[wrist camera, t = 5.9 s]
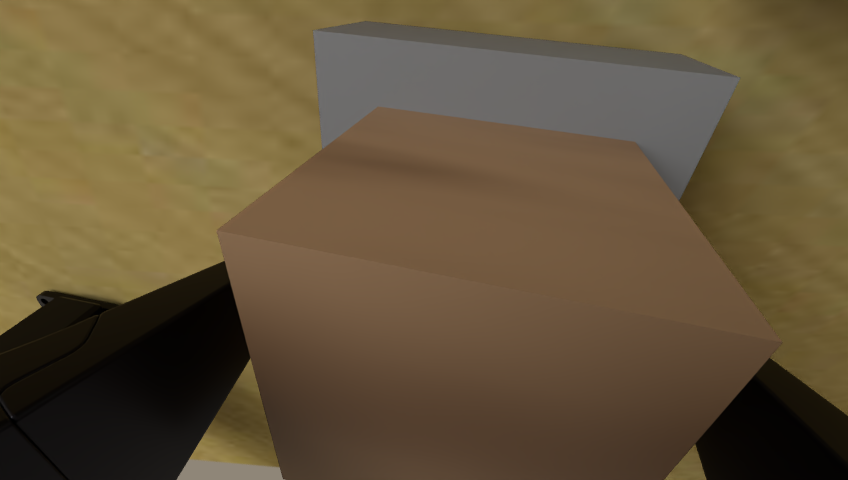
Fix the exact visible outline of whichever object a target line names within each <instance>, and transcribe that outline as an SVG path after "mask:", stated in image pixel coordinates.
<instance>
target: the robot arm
mask: <svg viewBox="0 0 848 480" xmlns="http://www.w3.org/2000/svg"><path fill="white" fill-rule="evenodd" d="M36 298H37V300H38V302H39V303H40V305H41V306H42V307H41V308H40V309H38V310H37V311H35V312H34V313H32V314H31V315H30V316H28V317H27V318H25V319H24V320H22V321H21V322H19V323H18V324H16V325H15V326H14V327H12V328H11V329H9V330H8V331H6V332H5V333H3V334H2V335H0V480H177V478H178V476H179V474H180V473H181V471H182V470H183V468H184V466H185V465H186V463H187V462H188V460H189V458H190V457H191V455H192V453H193V452H194V450H195V448H196V447H197V445H198V443H199V442H200V440H201V439H202V437H203V435H204V434H205V432H206V430H207V429H208V427H209V425H210V424H211V422H212V421H213V419H214V417H215V416H216V414H217V412H218V411H219V409H220V407H221V406H222V404H223V402H224V401H225V399H226V398H227V396H228V394H229V393H230V391H231V389H232V388H233V386H234V384H235V383H236V381H237V379H238V378H239V376H240V375H241V373H242V371H243V370H244V368H245V366H246V365H247V363H248V361H249V360H250V354H249V350H248V346H247V343H246V339H245V335H244V331H243V328H242V324H241V320H240V316H239V313H238V309H237V305H236V301H235V298H234V294H233V290H232V287H231V283H230V279H229V275H228V272H227V268H226V264H225V261H223V262H221V263H218V264H216V265H214V266H211V267H209V268H207V269H204V270H202V271H200V272H197V273H195V274H192V275H190V276H188V277H185V278H183V279H181V280H178V281H176V282H174V283H171V284H169V285H167V286H164V287H162V288H159V289H157V290H155V291H152V292H150V293H148V294H145V295H143V296H141V297H138V298H136V299H134V300H131V301H129V302H126V303H124V304H122V305H116V304H111V303H106V302H101V301H96V300H91V299H86V298H81V297H76V296H71V295H66V294H61V293H56V292H51V291H44V292H42V293H41V294H39V295H38V296H37V297H36ZM695 444H696V447H697V451H698V454H699V457H700V460H701V463H702V467H703V470H704V473H705V476H706V479H707V480H848V416H847V415H846V414H845V413H843V412H842V411H841V410H839V409H838V408H837V407H835V406H834V405H833V404H831V403H830V402H829V401H827V400H826V399H824V398H823V397H822V396H820V395H819V394H818V393H816V392H815V391H814V390H812V389H811V388H810V387H808V386H807V385H806V384H804V383H803V382H802V381H800V380H799V379H797V378H796V377H795V376H793V375H792V374H791V373H789V372H788V371H787V370H785V369H784V368H783V367H781V366H780V365H779V364H777V363H776V362H775V361H773V360H772V359H770V358H769V359H768V360H767V361H766V362H765V363H764V365H763V366H762V367H761V368H760V369H759V370H758V372H757V373H756V374H755V375H754V376H753V377H752V378H751V380H750V381H749V382H748V383H747V384H746V385H745V387H744V388H743V389H742V390H741V391H740V392H739V393H738V395H737V396H736V397H735V398H734V399H733V400H732V402H731V403H730V404H729V405H728V406H727V407H726V408H725V410H724V411H723V412H722V413H721V414H720V415H719V417H718V418H717V419H716V420H715V421H714V422H713V423H712V425H711V426H710V427H709V428H708V429H707V430H706V432H705V433H704V434H703V435H702V436H701V437H700V439H699V440H698V441H697V442H696V443H695Z"/></svg>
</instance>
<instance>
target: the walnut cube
mask: <svg viewBox="0 0 848 480" xmlns="http://www.w3.org/2000/svg"><path fill="white" fill-rule="evenodd" d="M217 234H218V238H219V242H220V245H221V249H222V253H223V257H224V260H225V264H226V268H227V272H228V275H229V279H230V283H231V287H232V290H233V294H234V298H235V301H236V305H237V309H238V313H239V316H240V320H241V324H242V328H243V331H244V335H245V339H246V343H247V346H248V350H249V354H250V358H251V361H252V365H253V369H254V372H255V376H256V380H257V384H258V387H259V391H260V395H261V399H262V402H263V406H264V410H265V414H266V417H267V421H268V425H269V429H270V432H271V436H272V440H273V443H274V447H275V451H276V455H277V458H278V462H279V466H280V470H281V473H282V477H283V479H285V480H664V479H665V478H666V477H667V475H668V474H669V473H670V472H671V471H672V470H673V469H674V467H675V466H676V465H677V464H678V463H679V462H680V460H681V459H682V458H683V457H684V456H685V455H686V454H687V452H688V451H689V450H690V449H691V448H692V447H693V445H694V444H695V443H696V442H697V441H698V440H699V439H700V437H701V436H702V435H703V434H704V433H705V432H706V430H707V429H708V428H709V427H710V426H711V425H712V423H713V422H714V421H715V420H716V419H717V418H718V417H719V415H720V414H721V413H722V412H723V411H724V410H725V408H726V407H727V406H728V405H729V404H730V403H731V402H732V400H733V399H734V398H735V397H736V396H737V395H738V393H739V392H740V391H741V390H742V389H743V388H744V387H745V385H746V384H747V383H748V382H749V381H750V380H751V378H752V377H753V376H754V375H755V374H756V373H757V372H758V370H759V369H760V368H761V367H762V366H763V365H764V363H765V362H766V361H767V360H768V359H769V358H770V357H771V355H772V354H773V353H774V352H775V351H776V350H777V348H778V347H779V346H780V345H781V344H782V343H783V342H782V341H781V340H780V338H779V337H778V335H777V334H776V333H775V331H774V330H773V329H772V327H771V326H770V325H769V323H768V322H767V320H766V319H765V318H764V316H763V315H762V314H761V312H760V311H759V310H758V308H757V307H756V306H755V304H754V303H753V301H752V300H751V299H750V297H749V296H748V295H747V293H746V292H745V291H744V289H743V288H742V286H741V285H740V284H739V282H738V281H737V280H736V278H735V277H734V276H733V274H732V273H731V272H730V270H729V269H728V267H727V266H726V265H725V263H724V262H723V261H722V259H721V258H720V257H719V255H718V254H717V252H716V251H715V250H714V248H713V247H712V246H711V244H710V243H709V242H708V240H707V239H706V238H705V236H704V235H703V233H702V232H701V231H700V229H699V228H698V227H697V225H696V224H695V223H694V221H693V220H692V218H691V217H690V216H689V214H688V213H687V212H686V210H685V209H684V208H683V206H682V205H681V204H680V202H679V201H678V199H677V198H676V197H675V195H674V194H673V193H672V191H671V190H670V189H669V187H668V186H667V184H666V183H665V182H664V180H663V179H662V178H661V176H660V175H659V174H658V172H657V171H656V170H655V168H654V167H653V165H652V164H651V163H650V161H649V160H648V159H647V157H646V156H645V155H644V153H643V152H642V150H641V149H640V148H639V146H638V145H637V144H636V142H633V141H626V140H619V139H611V138H604V137H597V136H590V135H582V134H575V133H568V132H560V131H553V130H546V129H539V128H531V127H524V126H517V125H510V124H502V123H495V122H488V121H480V120H473V119H466V118H459V117H451V116H444V115H437V114H430V113H422V112H415V111H408V110H400V109H393V108H386V107H379V106H378V107H377V108H376V109H374V110H373V111H372V112H370V113H369V114H368V115H366V116H365V117H364V118H362V119H361V120H360V121H359V122H357V123H356V124H355V125H353V126H352V127H351V128H349V129H348V130H347V131H346V132H344V133H343V134H342V135H340V136H339V137H338V138H336V139H335V140H334V141H332V142H331V143H330V144H329V145H327V146H326V147H325V148H323V149H322V150H321V151H319V152H318V153H317V154H316V155H314V156H313V157H312V158H310V159H309V160H308V161H306V162H305V163H304V164H302V165H301V166H300V167H299V168H297V169H296V170H295V171H293V172H292V173H291V174H289V175H288V176H287V177H286V178H284V179H283V180H282V181H280V182H279V183H278V184H276V185H275V186H274V187H272V188H271V189H270V190H269V191H267V192H266V193H265V194H263V195H262V196H261V197H259V198H258V199H257V200H256V201H254V202H253V203H252V204H250V205H249V206H248V207H246V208H245V209H244V210H242V211H241V212H240V213H239V214H237V215H236V216H235V217H233V218H232V219H231V220H229V221H228V222H227V223H226V224H224V225H223V226H222V227H220V228H219V229H218V230H217Z"/></svg>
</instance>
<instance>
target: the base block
mask: <svg viewBox="0 0 848 480" xmlns="http://www.w3.org/2000/svg"><path fill="white" fill-rule="evenodd" d="M313 34H314V47H315V61H316V74H317V87H318V100H319V113H320V126H321V139H322V149H323V148H325V147H326V146H327V145H329V144H330V143H331V142H332V141H334V140H335V139H336V138H338V137H339V136H340V135H342V134H343V133H344V132H346V131H347V130H348V129H349V128H351V127H352V126H353V125H355V124H356V123H357V122H359V121H360V120H361V119H362V118H364V117H365V116H366V115H368V114H369V113H370V112H372V111H373V110H374V109H376V108H377V107H378V106H379V107H386V108H393V109H400V110H408V111H415V112H422V113H430V114H437V115H444V116H451V117H459V118H466V119H473V120H480V121H488V122H495V123H502V124H510V125H517V126H524V127H531V128H539V129H546V130H553V131H560V132H568V133H575V134H582V135H590V136H597V137H604V138H611V139H619V140H626V141H633V142H636V144H637V145H638V146H639V148H640V149H641V150H642V152H643V153H644V155H645V156H646V157H647V159H648V160H649V161H650V163H651V164H652V165H653V167H654V168H655V170H656V171H657V172H658V174H659V175H660V176H661V178H662V179H663V180H664V182H665V183H666V184H667V186H668V187H669V189H670V190H671V191H672V193H673V194H674V195H675V197H676V198H677V199H678V201H679V200H680V198H681V196H682V194H683V192H684V190H685V188H686V186H687V184H688V182H689V180H690V178H691V176H692V174H693V172H694V170H695V168H696V166H697V164H698V162H699V160H700V158H701V156H702V154H703V152H704V150H705V148H706V146H707V144H708V142H709V140H710V138H711V136H712V134H713V132H714V130H715V128H716V126H717V124H718V122H719V120H720V118H721V116H722V114H723V112H724V110H725V108H726V106H727V104H728V102H729V100H730V98H731V96H732V94H733V92H734V90H735V88H736V86H737V84H738V82H739V80H740V77H737V76H735V75H732V74H730V73H727V72H725V71H722V70H720V69H717V68H714V67H712V66H709V65H707V64H704V63H702V62H699V61H697V60H694V59H692V58H689V57H687V56H684V55H681V54H673V53H663V52H654V51H644V50H635V49H625V48H616V47H606V46H596V45H587V44H577V43H568V42H558V41H549V40H539V39H530V38H520V37H511V36H501V35H492V34H482V33H473V32H463V31H454V30H444V29H435V28H425V27H416V26H406V25H397V24H387V23H378V22H368V21H364V22H358V23H352V24H347V25H341V26H335V27H330V28H324V29H318V30H313Z"/></svg>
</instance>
